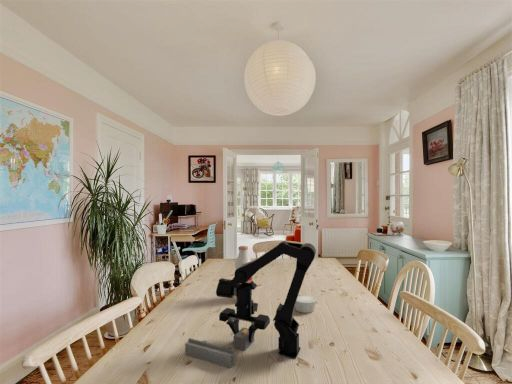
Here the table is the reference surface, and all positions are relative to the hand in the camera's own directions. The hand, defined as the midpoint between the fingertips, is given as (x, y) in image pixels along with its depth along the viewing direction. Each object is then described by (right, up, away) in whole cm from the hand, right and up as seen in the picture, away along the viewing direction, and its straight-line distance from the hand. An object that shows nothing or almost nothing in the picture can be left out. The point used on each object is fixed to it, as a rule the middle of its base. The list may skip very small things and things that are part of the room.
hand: (244, 340), depth 99 cm
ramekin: (+28, -2, +30) cm, 41 cm away
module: (0, -1, 0) cm, 1 cm away
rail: (-11, -1, -7) cm, 13 cm away
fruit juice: (-2, -2, +42) cm, 43 cm away
